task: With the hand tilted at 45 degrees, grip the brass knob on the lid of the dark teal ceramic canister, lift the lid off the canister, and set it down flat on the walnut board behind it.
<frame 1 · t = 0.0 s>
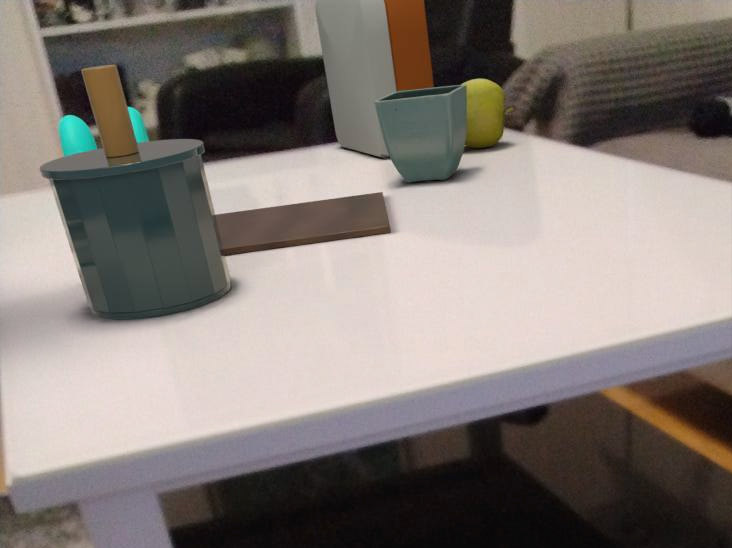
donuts: (122, 199, 131), on the table
flower pot: (431, 179, 119), on the table
canister: (162, 297, 86), on the table
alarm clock: (387, 149, 142), on the table
lid: (124, 162, 80), point 10 cm above the table, touching canister
board: (289, 227, 105), on the table
apple: (481, 149, 134), on the table
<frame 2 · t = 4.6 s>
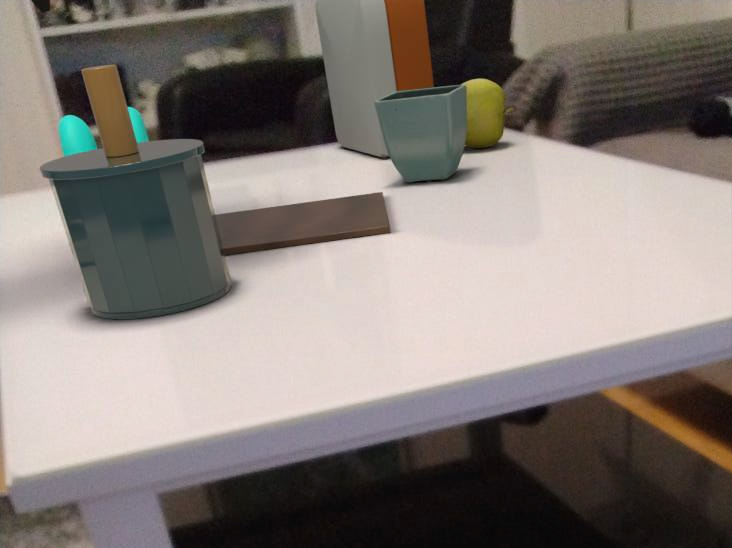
nothing on the table moved.
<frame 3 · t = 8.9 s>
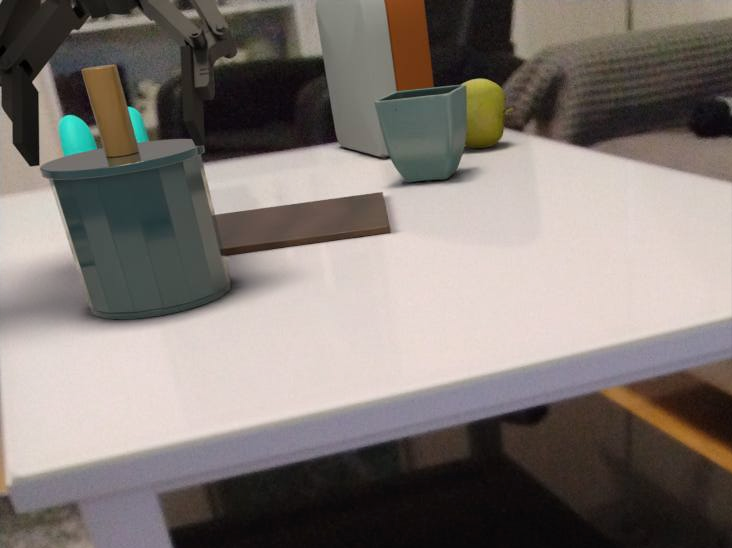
hand: (110, 144, 77), 12 cm above the table, tool tilted 45°, fingers closed on lid, 12 cm apart
lid: (124, 162, 80), point 11 cm above the table, touching canister, gripper
everything else where it was.
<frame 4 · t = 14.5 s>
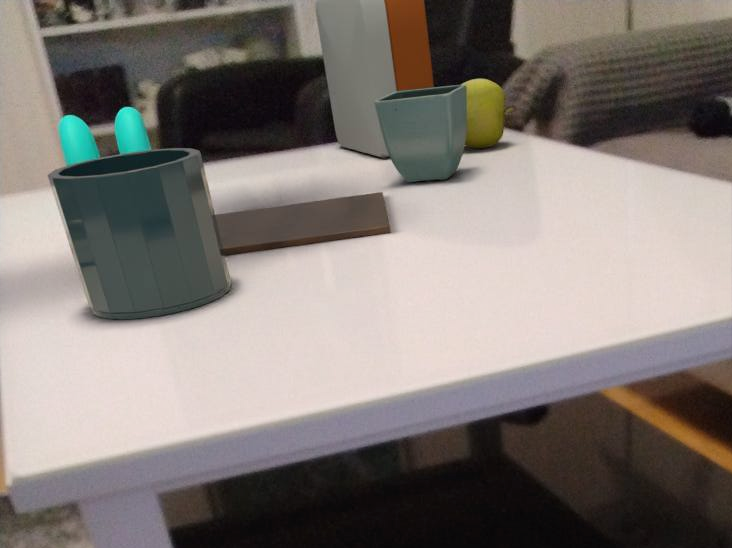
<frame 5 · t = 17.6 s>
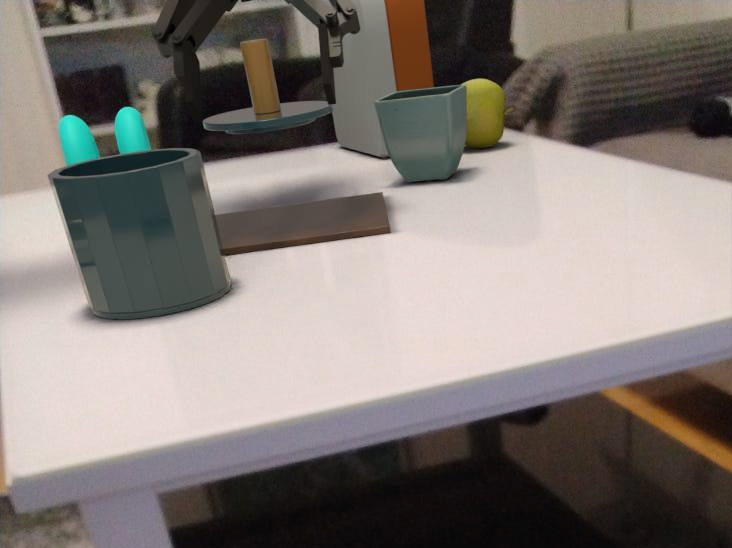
hand: (261, 103, 96), 12 cm above the table, tool tilted 45°, fingers closed on lid, 12 cm apart
lid: (269, 118, 99), point 10 cm above the table, touching gripper
everything else where it was.
when the fingers open (3 cm above the table, at t = 20.4 s): lid stays where it is, resting on board.
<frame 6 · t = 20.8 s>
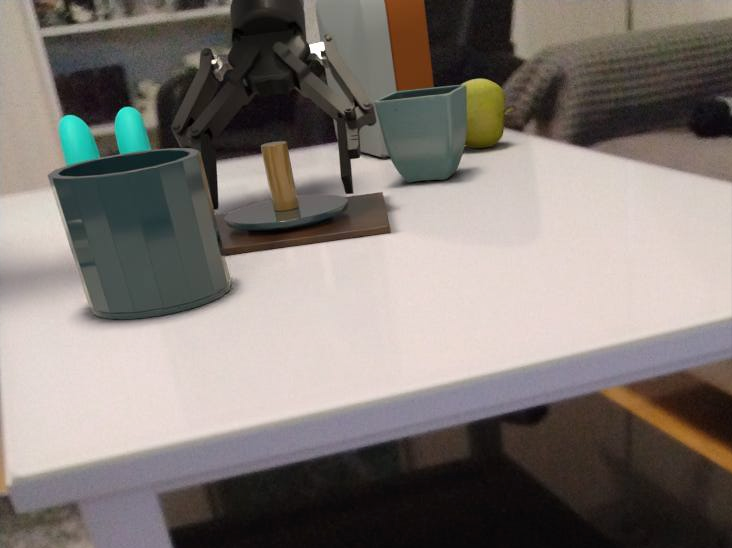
hand: (278, 193, 101), 4 cm above the table, tool tilted 45°, fingers open, 13 cm apart
lid: (287, 214, 104), point 1 cm above the table, touching board
everything else where it was.
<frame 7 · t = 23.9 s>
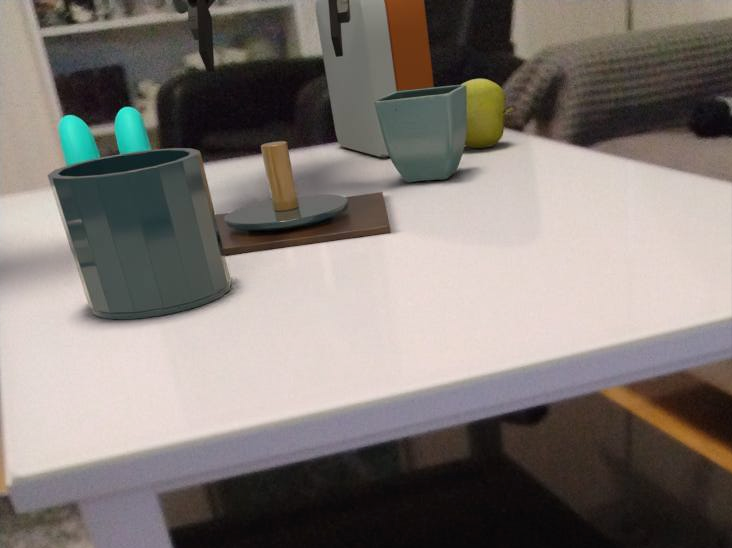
hand: (271, 54, 105), 15 cm above the table, tool tilted 45°, fingers open, 13 cm apart
nothing on the table moved.
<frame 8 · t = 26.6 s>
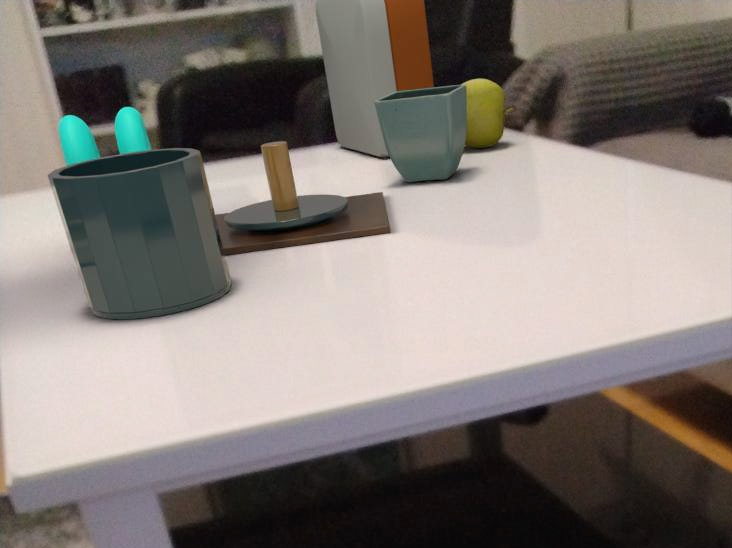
nothing on the table moved.
at the end: lid inside the target area on the board (0.0 cm from its centre), point 1.2 cm above the board's base; lid tilted 0°; the gripper is holding nothing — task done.
